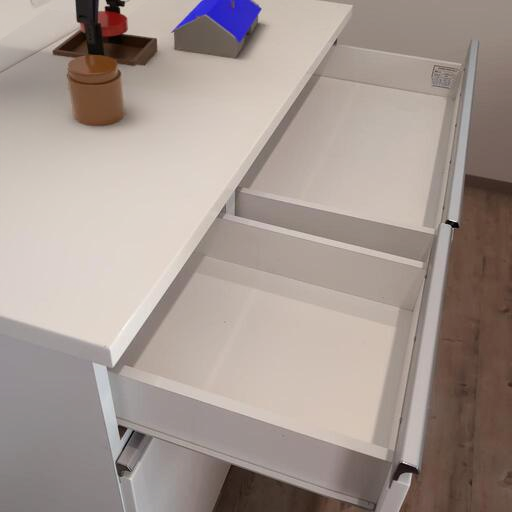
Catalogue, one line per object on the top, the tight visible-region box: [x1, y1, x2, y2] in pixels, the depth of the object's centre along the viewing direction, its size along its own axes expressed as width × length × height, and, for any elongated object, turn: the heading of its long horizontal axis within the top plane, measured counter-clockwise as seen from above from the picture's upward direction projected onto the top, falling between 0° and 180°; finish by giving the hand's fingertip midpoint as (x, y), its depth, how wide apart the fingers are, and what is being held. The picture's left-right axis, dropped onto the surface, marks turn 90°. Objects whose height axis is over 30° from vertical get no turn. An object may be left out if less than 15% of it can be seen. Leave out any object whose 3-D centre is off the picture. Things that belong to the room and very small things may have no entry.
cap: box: [79, 10, 129, 37], centre depth 99 cm, size 8×8×2 cm
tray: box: [51, 28, 158, 67], centre depth 102 cm, size 15×12×2 cm
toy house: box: [170, 0, 263, 59], centre depth 113 cm, size 22×14×7 cm, turn 168°
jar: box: [66, 55, 126, 127], centre depth 80 cm, size 8×8×10 cm
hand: (106, 50), depth 102 cm, fingers closed on cap, 8 cm apart
